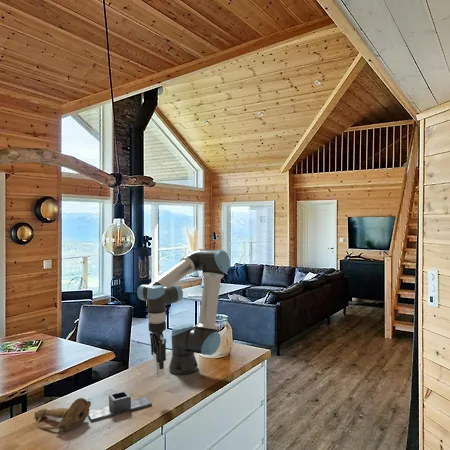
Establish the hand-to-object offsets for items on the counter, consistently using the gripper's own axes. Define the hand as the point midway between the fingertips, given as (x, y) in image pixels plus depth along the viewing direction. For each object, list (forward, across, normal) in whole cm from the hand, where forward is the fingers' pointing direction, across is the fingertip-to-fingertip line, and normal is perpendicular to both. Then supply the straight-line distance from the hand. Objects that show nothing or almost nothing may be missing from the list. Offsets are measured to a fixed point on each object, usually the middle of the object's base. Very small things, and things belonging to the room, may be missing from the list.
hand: (159, 373), depth 179 cm
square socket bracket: (+11, -1, -18) cm, 21 cm away
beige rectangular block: (0, 0, 0) cm, 0 cm away
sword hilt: (+11, -5, -42) cm, 44 cm away
